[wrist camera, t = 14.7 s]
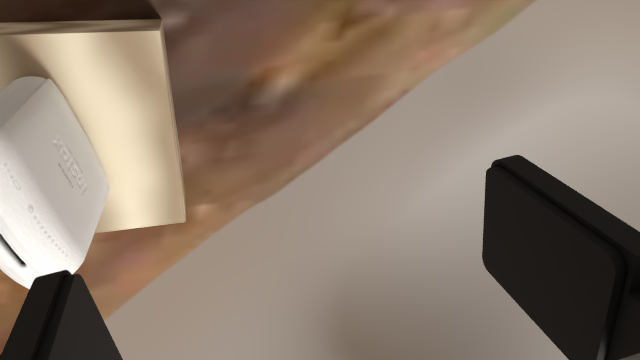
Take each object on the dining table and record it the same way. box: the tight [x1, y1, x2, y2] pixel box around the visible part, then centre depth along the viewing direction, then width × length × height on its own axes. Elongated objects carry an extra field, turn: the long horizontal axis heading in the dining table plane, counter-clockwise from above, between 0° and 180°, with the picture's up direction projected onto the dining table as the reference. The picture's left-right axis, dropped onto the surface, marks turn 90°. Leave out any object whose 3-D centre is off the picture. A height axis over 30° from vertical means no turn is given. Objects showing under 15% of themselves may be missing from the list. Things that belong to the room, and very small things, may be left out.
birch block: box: [0, 19, 186, 233], centre depth 38 cm, size 16×16×6 cm
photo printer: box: [0, 76, 109, 289], centre depth 30 cm, size 10×4×12 cm, turn 13°
